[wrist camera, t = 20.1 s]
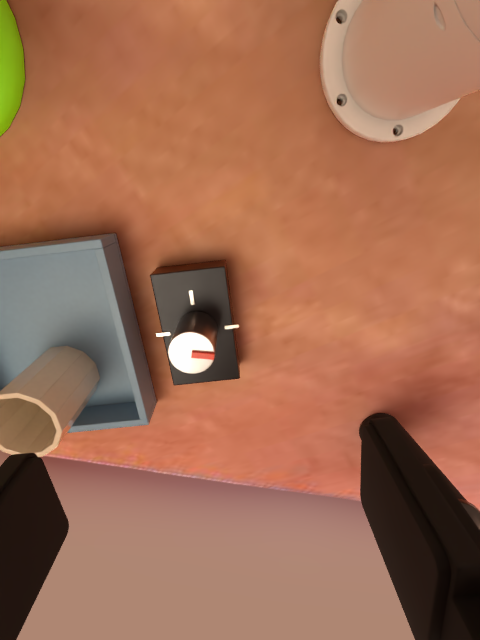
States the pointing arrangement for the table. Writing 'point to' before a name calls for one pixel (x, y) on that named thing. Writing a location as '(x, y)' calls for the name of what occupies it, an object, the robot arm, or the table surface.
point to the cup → (45, 400)
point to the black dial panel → (202, 296)
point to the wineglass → (10, 67)
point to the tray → (76, 322)
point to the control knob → (193, 343)
